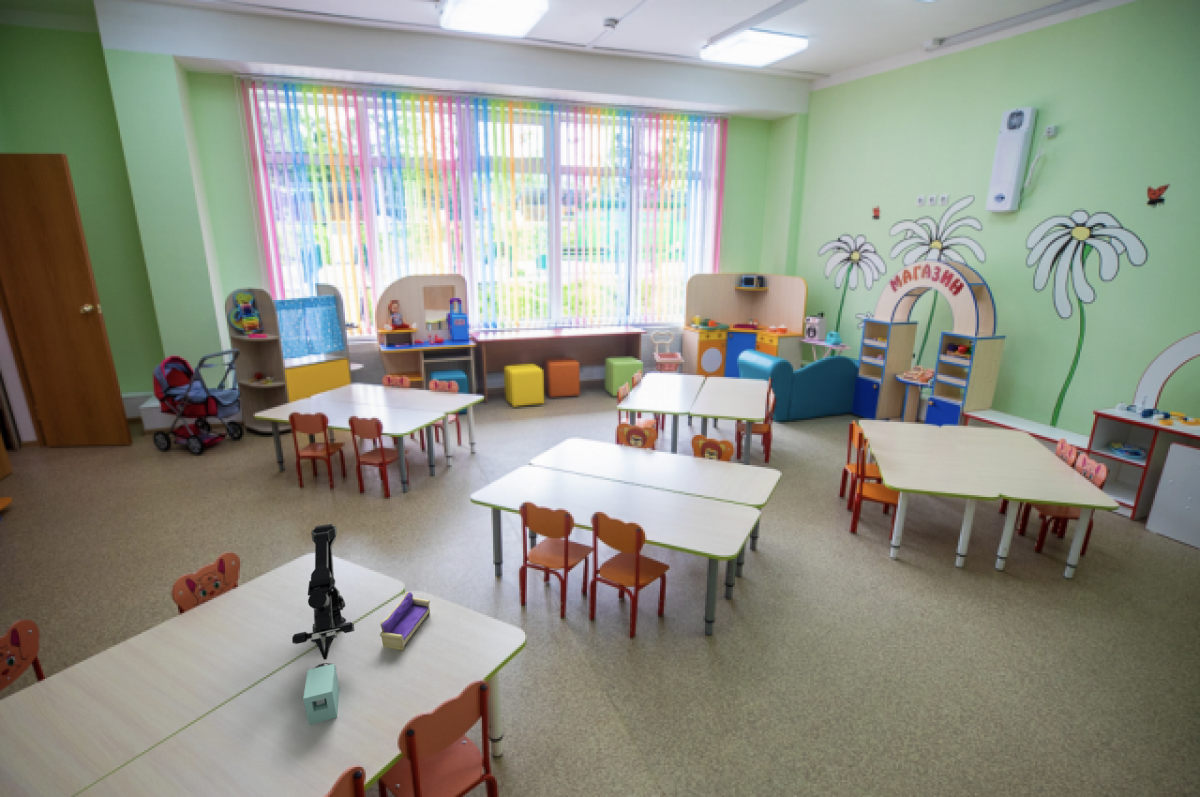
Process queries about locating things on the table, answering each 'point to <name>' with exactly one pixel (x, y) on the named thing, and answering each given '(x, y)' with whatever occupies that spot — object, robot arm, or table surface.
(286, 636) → the table surface
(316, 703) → the plunger
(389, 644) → the toy sofa
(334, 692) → the block
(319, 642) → the robot arm
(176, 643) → the table surface
